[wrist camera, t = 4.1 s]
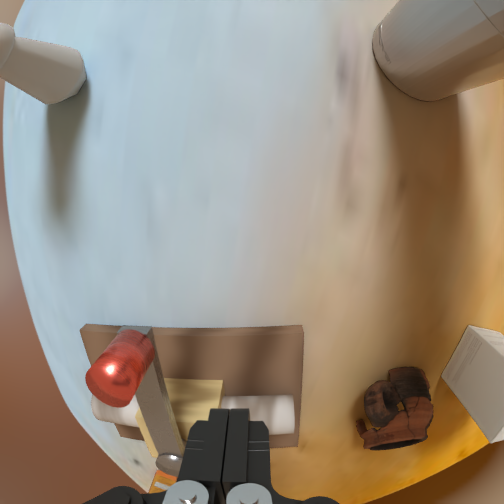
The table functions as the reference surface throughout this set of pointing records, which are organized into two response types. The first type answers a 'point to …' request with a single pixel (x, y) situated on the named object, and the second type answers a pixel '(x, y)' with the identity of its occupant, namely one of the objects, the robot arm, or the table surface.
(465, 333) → the supplement box
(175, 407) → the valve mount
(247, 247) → the table surface
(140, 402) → the valve lever
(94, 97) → the table surface
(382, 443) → the pottery mug
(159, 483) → the supplement box
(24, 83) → the salt shaker
